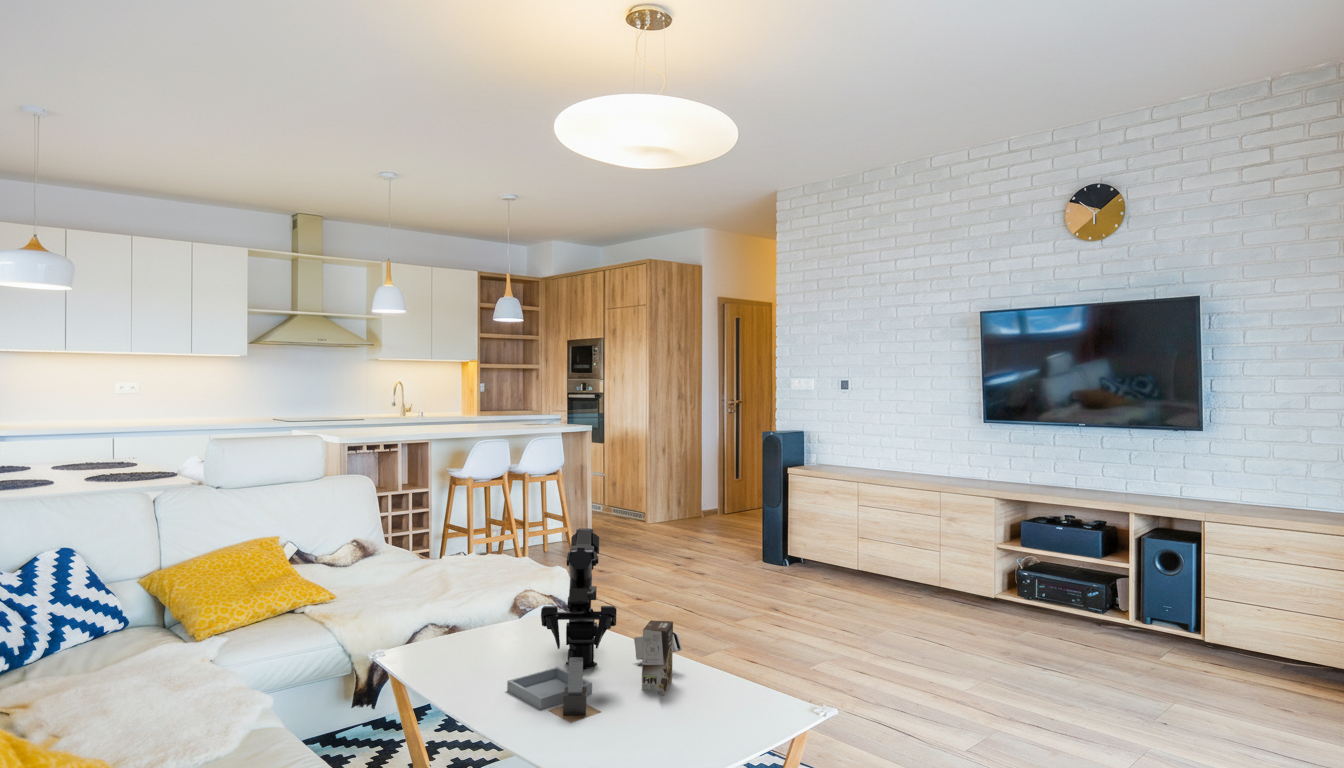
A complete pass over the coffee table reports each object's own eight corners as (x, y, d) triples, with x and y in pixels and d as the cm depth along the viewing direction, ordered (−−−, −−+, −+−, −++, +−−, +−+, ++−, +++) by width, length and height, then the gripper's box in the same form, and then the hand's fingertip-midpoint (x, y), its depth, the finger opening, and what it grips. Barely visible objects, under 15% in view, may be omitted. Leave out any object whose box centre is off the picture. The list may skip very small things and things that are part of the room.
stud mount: (579, 704, 187) (579, 687, 187) (601, 716, 180) (602, 698, 180) (547, 714, 181) (548, 697, 181) (570, 727, 174) (570, 708, 174)
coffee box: (665, 695, 193) (666, 631, 193) (640, 693, 194) (642, 629, 195) (673, 682, 202) (674, 620, 202) (649, 680, 203) (650, 619, 204)
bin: (557, 680, 202) (557, 666, 202) (591, 697, 191) (592, 683, 191) (507, 694, 192) (507, 680, 192) (540, 713, 181) (541, 698, 181)
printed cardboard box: (636, 674, 213) (676, 665, 204) (632, 637, 217) (671, 626, 208) (646, 673, 216) (686, 664, 207) (642, 636, 220) (681, 626, 211)
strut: (564, 706, 183) (565, 656, 183) (586, 706, 183) (587, 655, 183) (563, 715, 178) (563, 663, 178) (585, 715, 178) (586, 663, 178)
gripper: (542, 574, 193) (536, 632, 182) (617, 574, 194) (616, 631, 183) (544, 597, 200) (539, 654, 189) (616, 597, 202) (615, 653, 191)
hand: (577, 647), depth 188 cm, fingers open, 9 cm apart
